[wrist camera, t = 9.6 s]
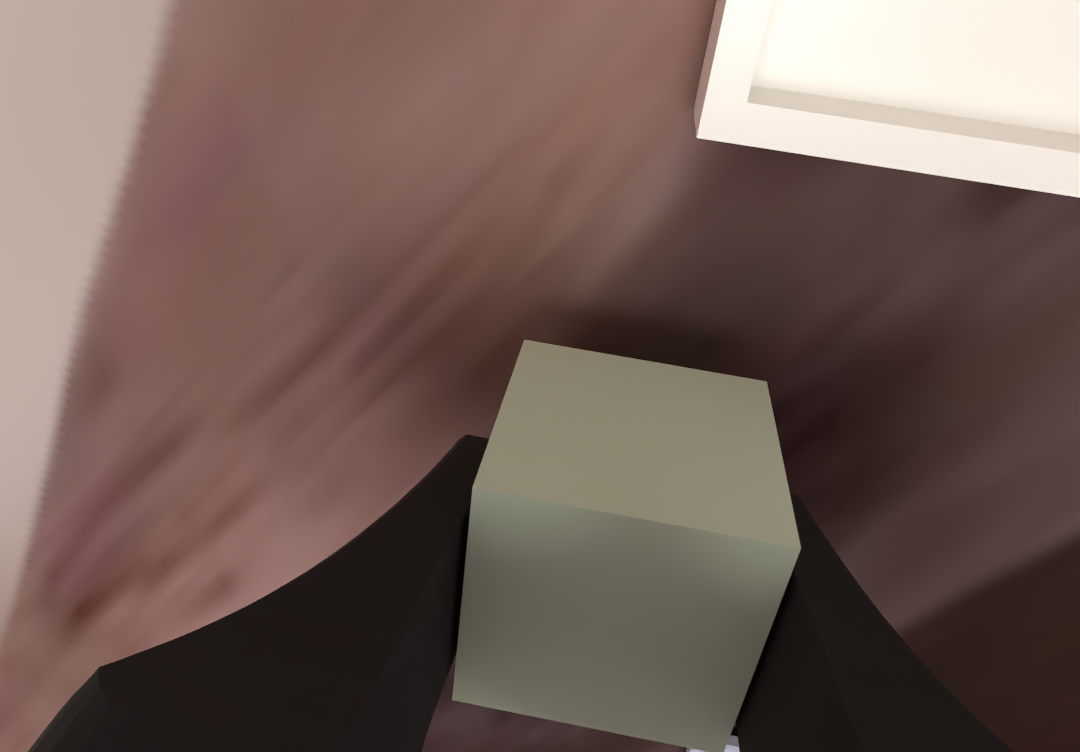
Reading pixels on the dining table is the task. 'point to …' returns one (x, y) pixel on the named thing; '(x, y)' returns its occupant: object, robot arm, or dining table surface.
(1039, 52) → the tray
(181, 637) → the robot arm
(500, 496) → the sage block
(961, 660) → the dining table surface
